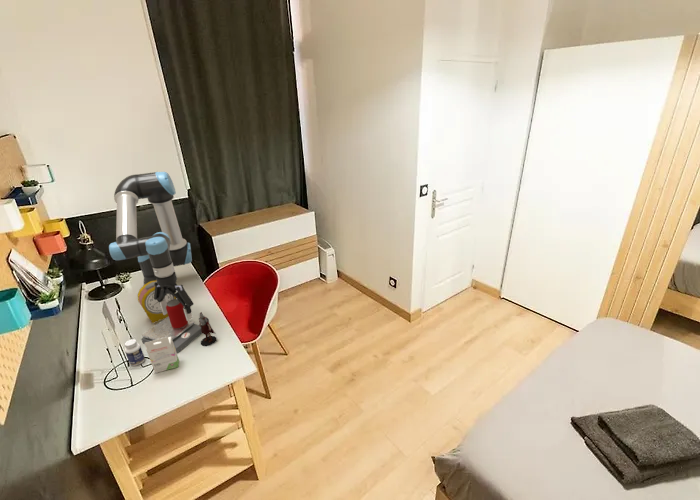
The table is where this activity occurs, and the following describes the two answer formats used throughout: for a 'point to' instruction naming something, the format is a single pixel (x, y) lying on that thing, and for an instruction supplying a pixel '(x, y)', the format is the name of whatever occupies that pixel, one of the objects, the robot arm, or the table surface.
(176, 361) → the ink box
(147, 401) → the table surface
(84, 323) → the table surface
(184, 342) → the scale
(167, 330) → the silver square platform
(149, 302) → the alarm clock
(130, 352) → the pill bottle
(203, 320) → the figurine
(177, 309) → the beverage can
